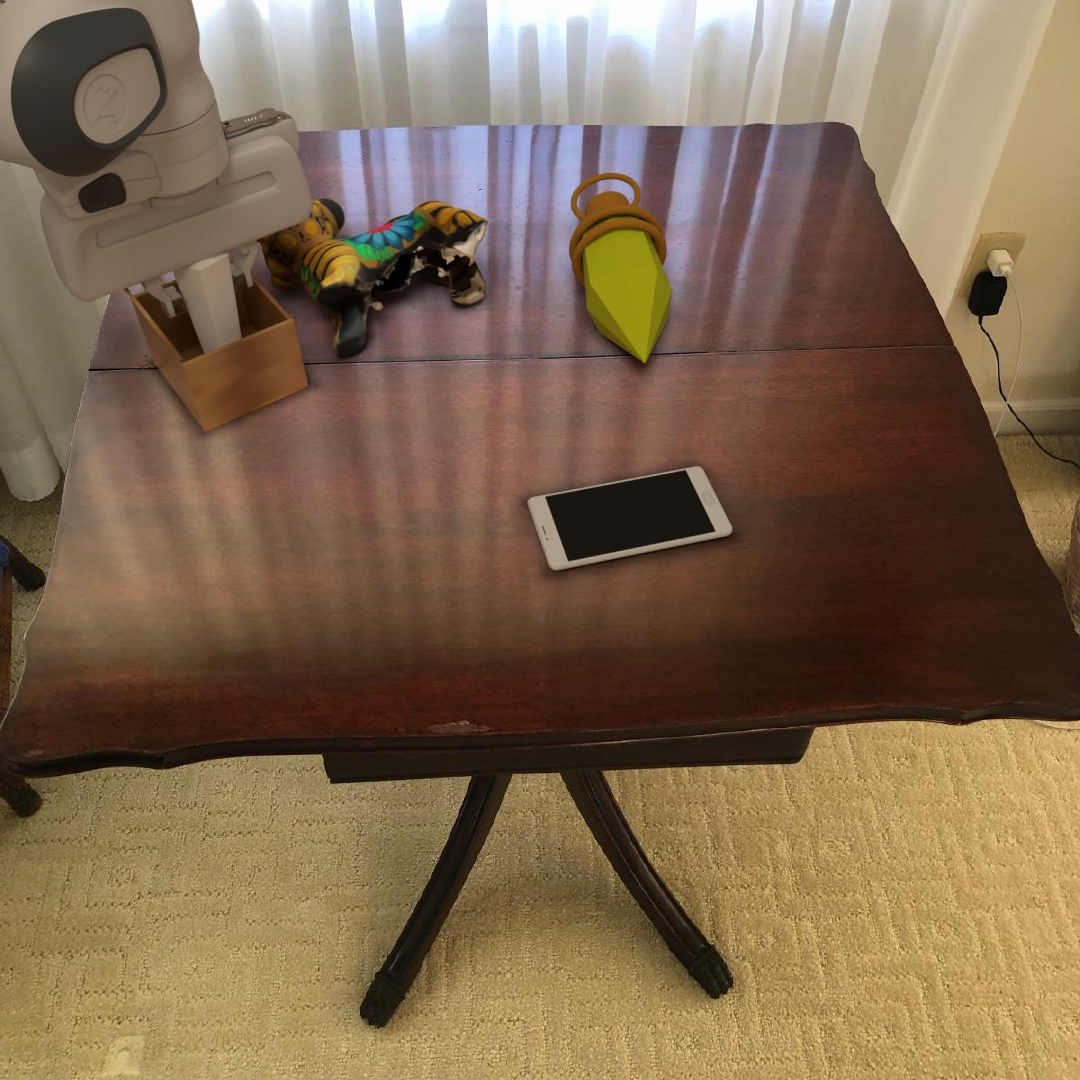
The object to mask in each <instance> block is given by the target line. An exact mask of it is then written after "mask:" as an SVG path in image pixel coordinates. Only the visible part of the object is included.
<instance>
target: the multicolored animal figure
mask: <svg viewBox="0 0 1080 1080" xmlns="http://www.w3.org/2000/svg"><path fill="white" fill-rule="evenodd" d="M312 201H313V209H312V212H311V214H310V216H309V218H308V220H307V221H305V222H303V223H300V224H297V225H295V226H292V227H289V228H287V229H284V230H281V231H279V232H276V233H273V234H271V235H268V236H265V237H263V238H260V239H257V240H256V241H257V244H260V248H261V251H262V255H263V258H264V263H265V266H266V268H267V269H268V270H269V272H270V284H271V287H272V288H273V289H275V290H278V291H280V292H290V291H292V290H294V289H295V288H297V287H301V285H304V289H305V290H306V292H307V294H308V295H309V297H310V298H311V299H312V300H313V301H314V302H316V303H318V305H320V307H321V308H322V310H324V312H325V313H326V315H327V316H328V317H329V319H330V321H331V323H332V325H333V326H334V328H335V330H336V333H335V335H334V337H333V349H334V351H335V353H336V355H337V356H338V357H349V356H352V355H355V354H357V353H359V352H360V351H361V350H362V349H363V348H364V346H366V345H365V344H366V342H367V337H368V313H369V309H371V308H373V309H374V310H375V311H382V309H383V308H384V305H383V304H382V302H381V301H374V299H378V298H382V297H384V296H387V295H390V294H391V293H393V292H402V291H403V290H404V289H405V287H406V285H408V286H409V285H410V284H411V280H412V279H413V277H415V276H423V277H425V278H426V279H427V280H429V281H430V282H434V283H436V284H441V285H443V286H445V287H448V289H449V290H448V291H449V294H448V295H449V297H450V301H451V303H452V304H453V305H456V306H459V307H468V306H470V305H473V304H474V305H475V304H476V303H478V302H479V301H481V300H483V299H484V298H485V297H486V293H487V292H486V291H487V287H486V282H485V279H484V277H483V276H484V275H482V272H481V270H480V268H479V266H478V264H477V263H476V261H475V258H476V257H475V256H476V253H477V249H478V246H479V245H480V243H481V242H482V241H483V239H484V237H485V235H486V230H487V227H488V219H486V218H484V217H482V216H480V215H478V214H476V213H475V212H473V211H471V210H467V209H465V208H459V207H454V206H453V205H450V204H448V203H446V202H444V201H441V200H435V199H434V200H433V199H432V200H427V201H424V202H421V203H419V204H418V205H416V206H415V207H414V209H412V210H411V211H410V212H409V213H406V214H403V215H398V216H395V217H393V218H391V219H390V220H388V221H387V222H386V223H384V224H383V225H380V226H379V227H376V228H373V229H370V230H367V231H366V232H364V233H360V234H357V235H354V236H349V237H346V238H336V237H337V236H338V235H339V233H340V232H341V231H342V229H343V227H344V225H345V221H346V216H345V212H344V210H343V208H342V206H341V205H340V204H339V203H338V202H336V201H335V200H333V199H331V198H319V199H316V200H312Z"/></svg>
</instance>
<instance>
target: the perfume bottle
mask: <svg viewBox="0 0 1080 1080" xmlns="http://www.w3.org/2000/svg"><path fill="white" fill-rule="evenodd" d="M229 259H230V254H229V251H225V252H222V253H220V254H217V255H214V256H212V257H209V258H206V259H203V260H201V261H198V262H195V263H193V264H190V265H187V266H185V267H182V268H179V269H177V270H174V271H172V273H173V276H174V278H175V279H174V280H176V281H177V284H178V286H179V289H180V292H181V294H182V297H183V299H184V302H185V305H186V307H187V310H188V312H189V315H190V318H191V320H192V323H193V325H194V328H195V331H196V333H197V336H198V338H199V341H200V344H201V346H202V349H203V351H204V354H206V353H208V352H211V351H213V350H215V349H218V348H220V347H223V346H225V345H228V344H230V343H232V342H235V341H237V340H240V339H242V337H241V331H240V324H239V318H238V311H237V305H236V299H235V292H234V286H233V279H232V273H231V267H230V260H229Z"/></svg>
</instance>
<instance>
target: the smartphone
mask: <svg viewBox="0 0 1080 1080" xmlns="http://www.w3.org/2000/svg"><path fill="white" fill-rule="evenodd" d="M527 506H528V510H529V513H530V515H531V518H532V522H533V524H534V528H535V530H536V534H537V536H538V538H539V542H540V544H541V549H542V550H543V553H544V556H545V559H546V562H547V565H548V567H549V568H550V569H551V570H552V571H562V570H568V569H572V568H578V567H581V566H583V567H584V566H588V565H592V564H596V563H602V562H607V561H612V560H617V559H621V558H627V557H632V556H637V555H642V554H646V553H650V552H657V551H661V550H666V549H670V548H671V549H672V548H676V547H681V546H685V545H686V546H687V545H692V544H697V543H700V542H705V541H706V542H707V541H711V540H715V539H719V538H720V539H721V538H724V537H725V538H726V537H728V536H730V535H731V534H732V533H733V525H732V524H731V522H730V520H729V518H728V516H727V514H726V512H725V510H724V507H723V506H722V504H721V502H720V500H719V498H718V496H717V494H716V492H715V490H714V488H713V486H712V484H711V482H710V480H709V478H708V476H707V474H706V472H705V470H704V469H703V468H702V467H701V466H698V465H696V466H695V465H694V466H689V467H684V468H679V469H675V470H669V471H664V472H659V473H658V472H657V473H653V474H647V475H642V476H637V477H631V478H627V479H620V480H616V481H610V482H605V483H600V484H595V485H589V486H584V487H578V488H574V489H569V490H568V489H567V490H563V491H558V492H552V493H547V494H542V495H537V496H531V497H530V498H528V500H527Z"/></svg>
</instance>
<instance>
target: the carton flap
mask: <svg viewBox="0 0 1080 1080" xmlns="http://www.w3.org/2000/svg"><path fill="white" fill-rule="evenodd" d="M123 291H124V292H125V293H126V294H127V296H128V297H129V299H130V300H131V299H132V301H133V302H134V303H135V305H136V306H137V307H138V309H139V310H140V311H141V312H142V314H143V315H144V316H145V318H146V319H147V320H148V321H149V323H150V324H151V325H152V327H153V328H154V329H155V330H156V332H157V333H158V334H159V336H160V337H161V338H162V339H163V341H164V342H165V343H166V345H167V346H168V347H169V348H170V350H171V351H172V352H173V354H174V355H175V356H176V357H177V359H178V360H181V359H182V357H181V356H180V355H179V354H178V352H177V351H176V350H175V348H174V347H173V346H172V345H171V343H170V342H169V341H168V339H167V338H166V337H165V335H164V334H163V333H162V332H161V330H160V329H159V328H158V326H157V325H156V324H155V323H154V321H153V320H152V319H151V317H150V316H149V315H148V314H147V312H146V311H145V310H144V308H143V307H142V306H141V305H140V303H139V302H138V301H137V299H136V298H135V297H134V296H133V295H134V294H133V293H132V291H131V290H130V289H129V287H128V288H126V289H123ZM132 301H131V302H132Z"/></svg>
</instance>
